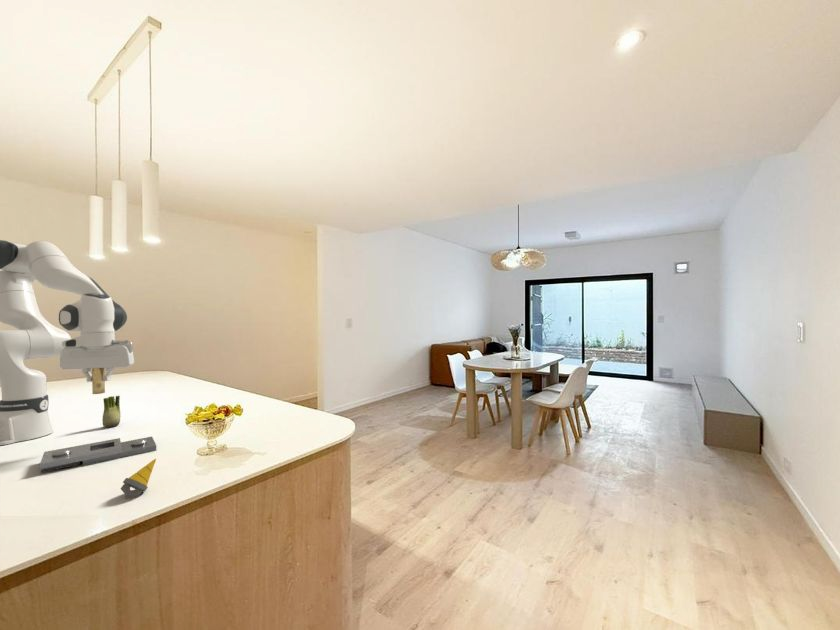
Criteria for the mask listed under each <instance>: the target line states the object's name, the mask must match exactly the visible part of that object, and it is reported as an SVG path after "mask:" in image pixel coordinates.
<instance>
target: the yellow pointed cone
mask: <svg viewBox="0 0 840 630" xmlns="http://www.w3.org/2000/svg"><path fill="white" fill-rule="evenodd" d="M156 460H157V458H154V459H153V460H152V461H150V462H149V463H148V464H146V465H145V466H143V467H141V468H140V469H139V470H138V471H136V472H135V473H134V474H132V475H131V476H129V477H126V478H125V479H124V480H123V482H122V483H123V484H122V486H121V487H120V490H121V491H122V493H123V495H125V497H124V499H126V500H127V499H131V498H132V499H133V498H137V497H140V495H141V494H142V493H143V492H144V493H145V492H146V490H147V489H148V488H149V487H148V483H149V481H150V478H151V475H152V472H153V469H154V466H155V463H156ZM131 488H132V489H131Z"/></svg>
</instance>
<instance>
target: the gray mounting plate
mask: <svg viewBox="0 0 840 630" xmlns="http://www.w3.org/2000/svg"><path fill="white" fill-rule="evenodd" d="M155 451H157V444H156V442H155V440H154V437H153V436H146V437H142V438H137V439H132V440H131V439H130V440H127V441H121V438H120V437H118V438H113V439H112V438H111V439H107V440H101V441H96V442H91V443H90V442H89V443H86V444H80V445H75V446H69V447H64V448H63V447H62V448H59V449H52V450H47V451H44V452H43V455H42V457H41V460H40V463H39V470H40V473H46V472H50V471H55V470H59V469H65V468H68V467H75V466H79V465H81V462H82V466H89V465H93V464H99V463H103V462H107V461H112V460H117V459H122V458H127V457H130V456H135V455H140V454H146V453H150V452H155Z"/></svg>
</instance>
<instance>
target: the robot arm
mask: <svg viewBox="0 0 840 630" xmlns="http://www.w3.org/2000/svg"><path fill="white" fill-rule="evenodd" d="M35 280H36V281H37V282H38V283H40V284H41V285H42V286H43V287H45V288H46V287H47V288H49V289H51V290H52V289H53V290H57V291H58V290H59V291H63V292H69V293H73V294H76V295H80V298H79V300H77V301H76V302H73V303H71V304H66V305H65V306H63V307H62V308H61V309H60V310H59V312H58V322H59V325H60V326H61V327H62V328H63V329H62V328H59V327H58V326H55V325H54V324H52V323H50V322H49V321H48V320H47V319H46V318H45V317H44V316H43V314H42V313H41V310H40V307H39V305H38V302H37V298H36V294H35V291H34V286H33V285H34V284H33V283H34V282H35ZM127 321H128V315H127V311H126V310H125V309H124V308H123V307H122V306H121V305H120V304H119V303H117V302H115V301H114V300H113V298H112V297H111V296H110V295H108V293H107V292H106V291H105V290H104V289H103V288H102V287H101V286H100V285H99V283H97V282H96V281H95V280H94V279H93V278H92V277H90V276H89V275H87V274H85V273H83V272H81V271H80V270H79V269H78V268H77V267H75V265H73V264H72V262H70V260H69V258H68V257H67V255H66V254H65V253H64V252H63V251H62V249H60V248H59V246H57V245H56V244H54V243H52V242H49V241H44V240H38V241H32V242H30V243H29V244H23V243H17V242H10V241H7V240H4V239H3V240H1V239H0V322H1V323H3V324H4V325H9V326H11V327H14V328H16V329H0V389H1V390H0V391H1V400H0V446H5V445H10V444H13V443H18V442H23V441H29V440H33V439H37V438H41V437H45V436H47V435H50V434H51V433H53V432H54V429H53V427H52V425H51V421H50V417H49V411H48V410H49V395H48V394H47V388H48V387H47V375H46V374H45V373H44V372H43V371H40V370H39V369H38V370H37V369H36V368H31V367H27V366H26V365H25V363H24V361H25V360H34V359H46V358H54V357H58V356H59V366H60V368H61V369H62V370H82V374H83V375H84V376H85V377H86V382H87V383H89V382H90V383H92V368H105V372H106V371H107V372H106V373H105V376H102V378H103V379H102V381H105V382H109V381H110V380H111V376H112V374H113V373H114V371H115V368H130V367H131V366H133V365H134V364H135V357H134V352H133V351H134V344H133V343H132V342H131V341H129V340H127V339H121V340H119V339H118V340H116V338H115V337H116V336H115V335H116V334H115V332H117V331H118V330H121V328H123V326H125V324H126V323H127ZM64 329H65V330H66V331H65V330H64ZM67 331H71V332H80V334H79V336H76V337H73V338H72V337H71V335H70V334H69V333H68V332H67Z"/></svg>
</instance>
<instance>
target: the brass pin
mask: <svg viewBox="0 0 840 630" xmlns="http://www.w3.org/2000/svg"><path fill="white" fill-rule="evenodd" d="M105 372H106V368H91V375H92V382H91V383H92V384H91V386H92V389H91V391H92V392H91V393H92V395H101V394H105V393H106V381H102V379H103V378H102V376H105V375H106V373H105Z"/></svg>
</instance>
